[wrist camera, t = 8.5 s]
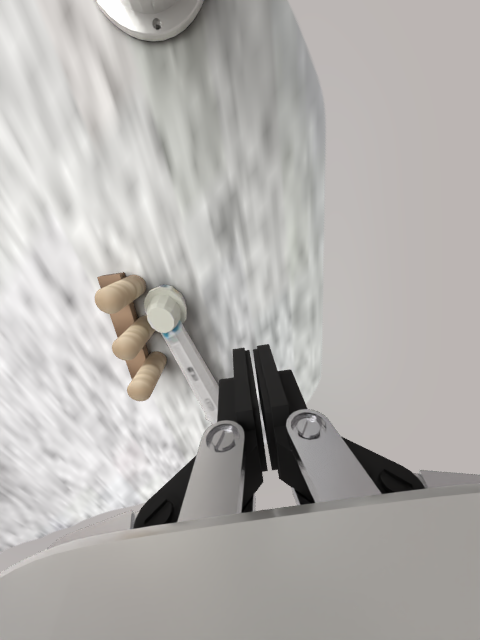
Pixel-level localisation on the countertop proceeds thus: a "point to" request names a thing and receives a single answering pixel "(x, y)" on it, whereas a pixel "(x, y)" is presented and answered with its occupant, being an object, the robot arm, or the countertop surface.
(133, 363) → the peg rack
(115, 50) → the countertop surface
